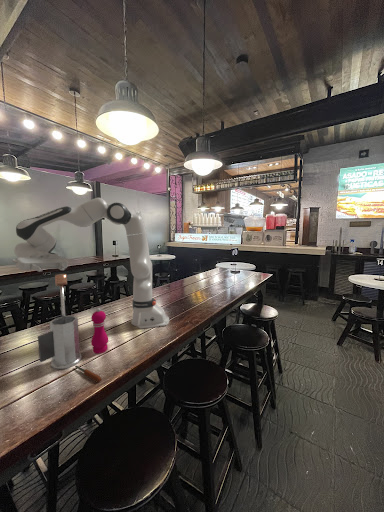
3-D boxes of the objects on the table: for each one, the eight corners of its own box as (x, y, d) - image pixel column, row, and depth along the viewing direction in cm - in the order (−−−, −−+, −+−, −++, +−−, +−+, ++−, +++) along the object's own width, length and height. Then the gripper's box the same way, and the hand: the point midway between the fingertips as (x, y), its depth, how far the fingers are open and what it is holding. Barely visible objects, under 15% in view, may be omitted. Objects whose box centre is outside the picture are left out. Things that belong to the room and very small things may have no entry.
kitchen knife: (102, 381, 79) (101, 376, 78) (98, 384, 78) (98, 378, 77) (76, 367, 87) (76, 363, 86) (73, 369, 85) (73, 364, 85)
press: (85, 353, 96) (83, 314, 94) (70, 373, 83) (67, 328, 80) (59, 354, 95) (56, 315, 93) (39, 374, 82) (35, 329, 80)
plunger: (75, 333, 92) (72, 273, 89) (68, 340, 86) (64, 276, 83) (61, 333, 92) (57, 273, 89) (53, 340, 86) (48, 276, 83)
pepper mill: (95, 346, 102) (93, 305, 100) (110, 345, 103) (108, 305, 100) (89, 354, 95) (86, 311, 93) (105, 354, 96) (104, 310, 93)
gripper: (11, 252, 93) (26, 263, 86) (60, 253, 111) (75, 262, 104) (9, 266, 94) (24, 277, 87) (57, 264, 112) (73, 274, 105)
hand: (52, 269), depth 96 cm, fingers open, 8 cm apart
